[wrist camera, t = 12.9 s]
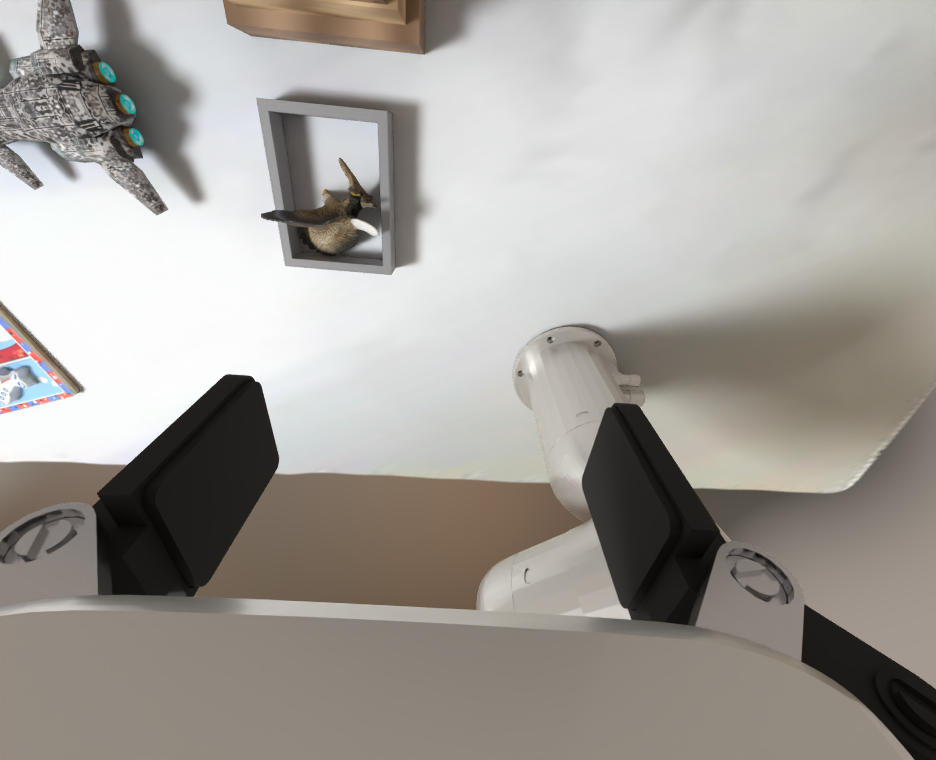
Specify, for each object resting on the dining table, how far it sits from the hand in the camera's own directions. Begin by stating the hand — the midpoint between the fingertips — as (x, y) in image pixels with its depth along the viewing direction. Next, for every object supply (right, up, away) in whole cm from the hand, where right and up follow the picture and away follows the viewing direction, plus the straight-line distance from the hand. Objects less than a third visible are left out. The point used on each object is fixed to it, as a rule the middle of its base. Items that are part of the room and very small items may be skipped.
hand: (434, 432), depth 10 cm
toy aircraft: (-36, +25, +23) cm, 50 cm away
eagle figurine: (-12, +18, +27) cm, 35 cm away
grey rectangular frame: (-12, +20, +26) cm, 35 cm away
